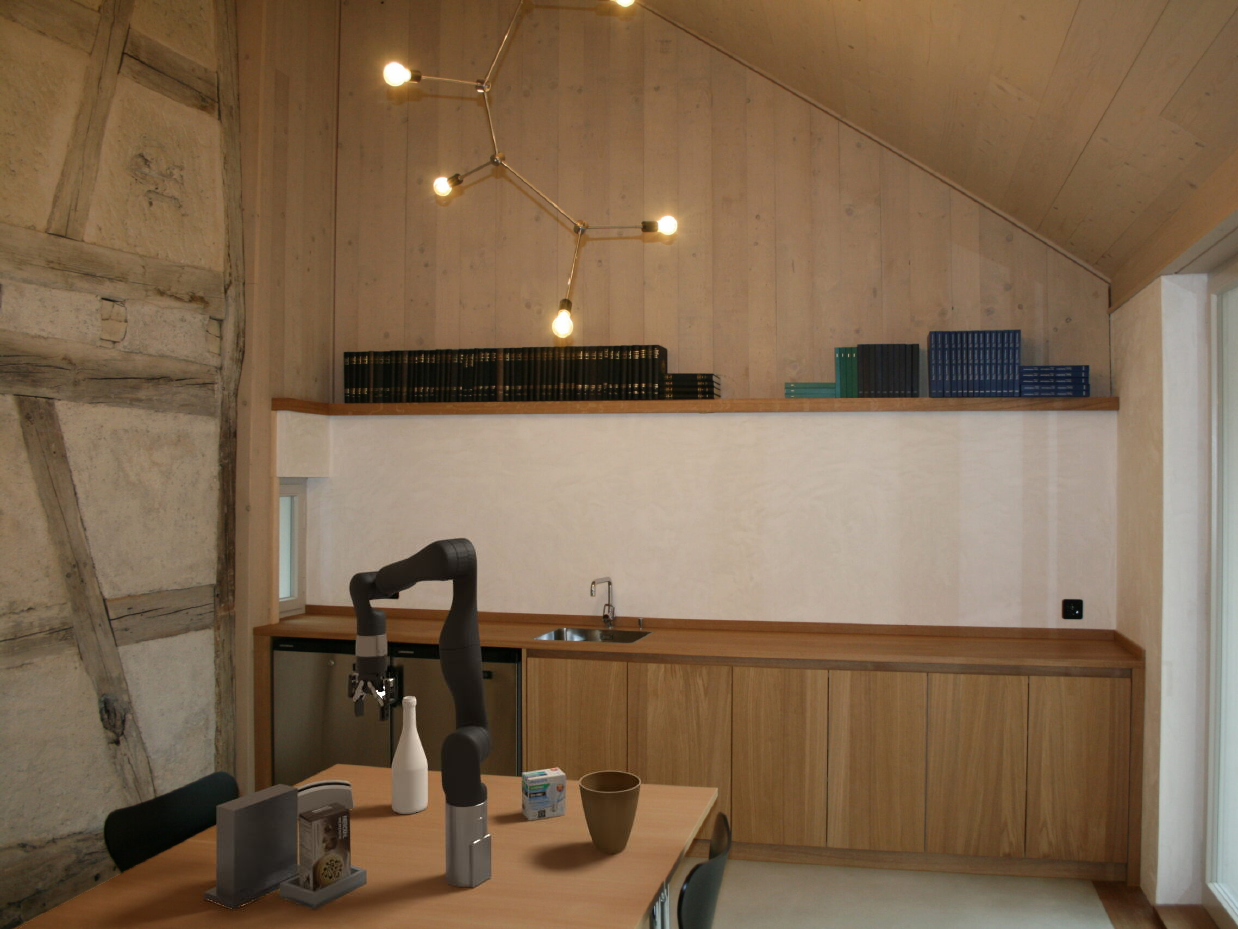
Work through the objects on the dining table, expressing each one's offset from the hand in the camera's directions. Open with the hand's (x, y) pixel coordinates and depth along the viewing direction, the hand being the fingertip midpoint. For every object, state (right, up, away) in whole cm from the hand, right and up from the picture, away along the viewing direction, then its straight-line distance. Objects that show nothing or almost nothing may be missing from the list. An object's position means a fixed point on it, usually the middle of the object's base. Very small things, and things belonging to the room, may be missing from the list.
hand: (371, 718), depth 216 cm
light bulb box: (+41, -30, +16) cm, 54 cm away
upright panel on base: (-18, -30, -25) cm, 43 cm away
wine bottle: (+4, -31, +21) cm, 38 cm away
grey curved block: (-19, -31, +19) cm, 41 cm away
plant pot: (+59, -30, -6) cm, 66 cm away
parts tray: (-3, -29, -27) cm, 40 cm away
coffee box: (-2, -29, -27) cm, 39 cm away
